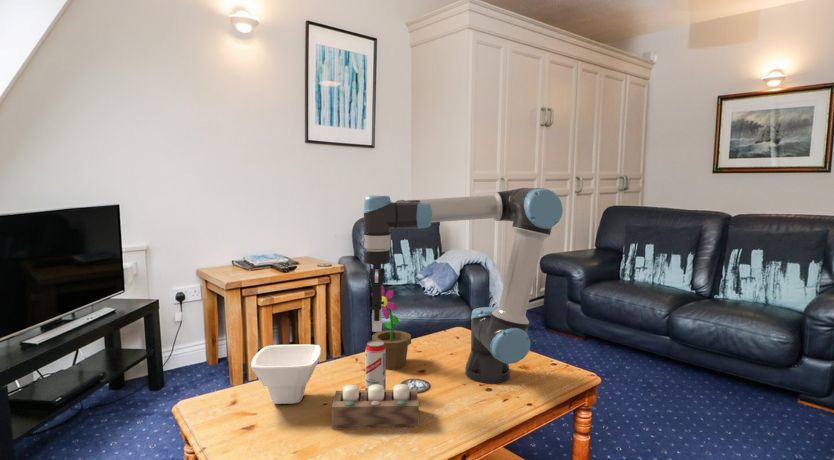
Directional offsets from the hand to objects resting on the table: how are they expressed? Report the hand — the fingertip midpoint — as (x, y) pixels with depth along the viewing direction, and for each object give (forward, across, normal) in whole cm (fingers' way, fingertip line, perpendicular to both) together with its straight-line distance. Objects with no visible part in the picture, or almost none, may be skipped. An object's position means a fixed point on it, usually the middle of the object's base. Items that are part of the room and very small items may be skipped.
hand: (377, 328), depth 139 cm
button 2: (+19, +9, +7) cm, 22 cm away
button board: (+23, +10, 0) cm, 24 cm away
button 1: (+19, +9, -7) cm, 22 cm away
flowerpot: (+23, -30, +4) cm, 38 cm away
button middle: (+19, +9, 0) cm, 21 cm away
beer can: (+23, -7, -1) cm, 24 cm away
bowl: (+23, -3, -27) cm, 35 cm away
